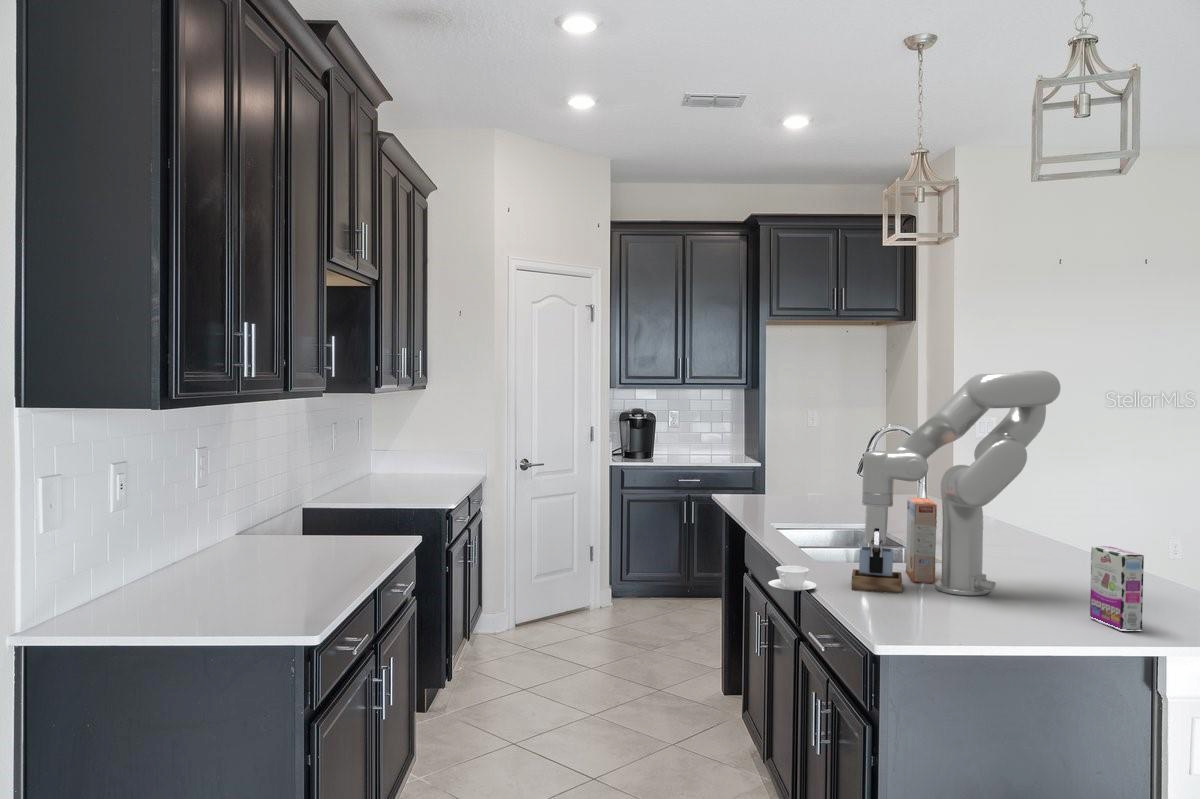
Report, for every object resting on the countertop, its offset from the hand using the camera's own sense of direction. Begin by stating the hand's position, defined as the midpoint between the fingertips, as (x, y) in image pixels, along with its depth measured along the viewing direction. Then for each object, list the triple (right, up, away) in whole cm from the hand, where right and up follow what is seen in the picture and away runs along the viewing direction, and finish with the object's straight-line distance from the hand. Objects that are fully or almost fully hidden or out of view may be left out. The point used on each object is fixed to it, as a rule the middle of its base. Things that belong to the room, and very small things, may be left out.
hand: (876, 569), depth 230 cm
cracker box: (+16, -5, +13) cm, 21 cm away
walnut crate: (0, -5, 0) cm, 5 cm away
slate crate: (0, -1, 0) cm, 1 cm away
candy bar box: (+42, -6, -34) cm, 54 cm away
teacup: (-22, -5, -2) cm, 22 cm away
